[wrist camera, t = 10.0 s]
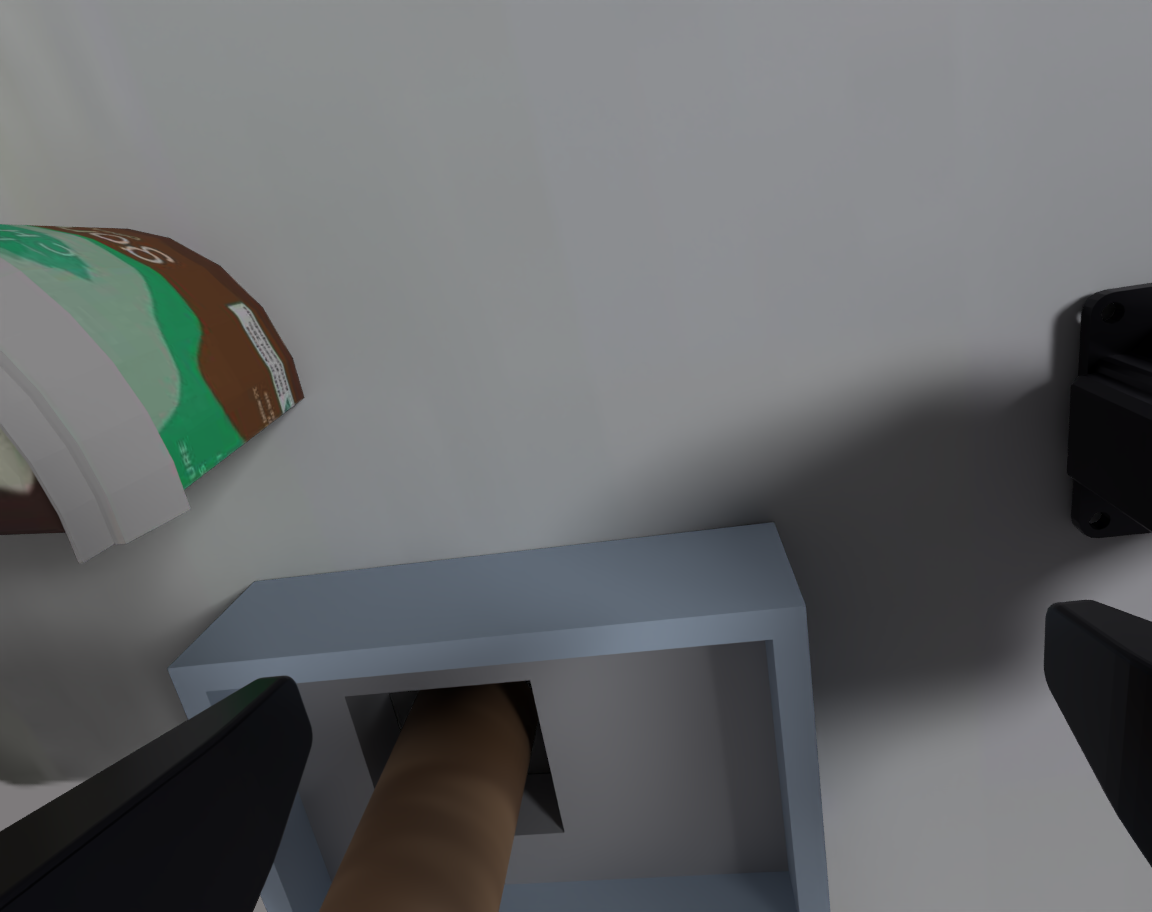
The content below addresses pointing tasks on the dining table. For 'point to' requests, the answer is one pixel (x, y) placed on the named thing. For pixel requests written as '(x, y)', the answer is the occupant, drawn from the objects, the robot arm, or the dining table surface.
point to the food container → (123, 380)
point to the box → (563, 713)
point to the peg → (443, 806)
